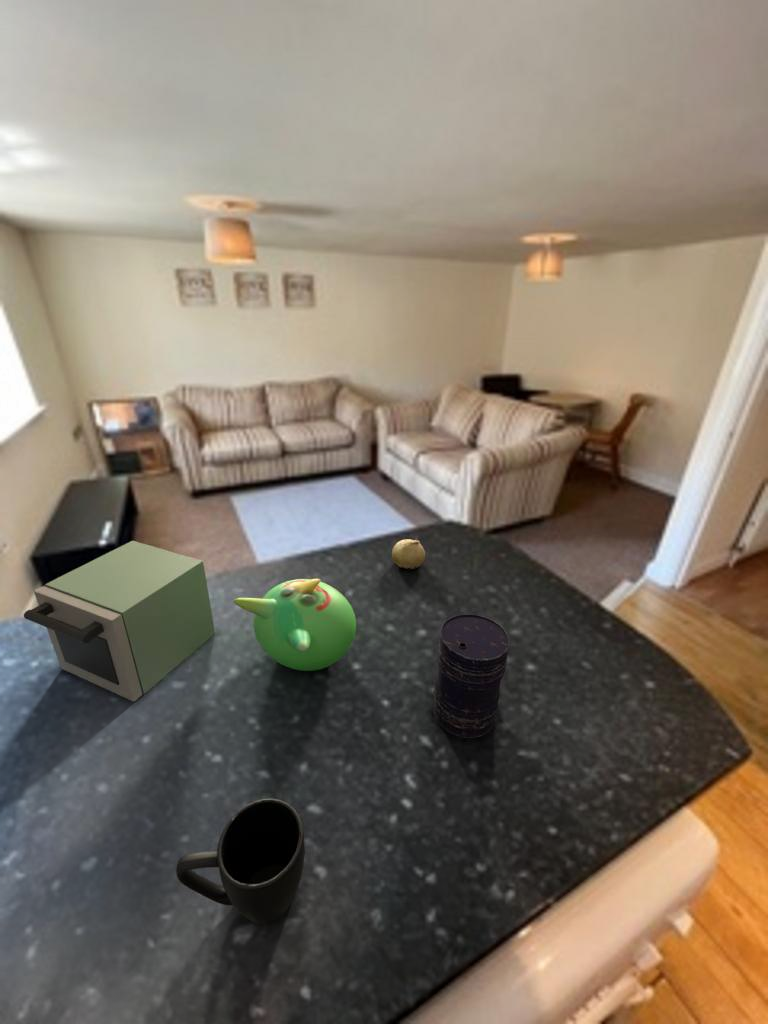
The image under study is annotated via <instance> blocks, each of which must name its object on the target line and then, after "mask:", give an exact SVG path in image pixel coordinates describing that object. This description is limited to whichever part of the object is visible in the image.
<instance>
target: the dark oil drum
mask: <svg viewBox="0 0 768 1024" xmlns="http://www.w3.org/2000/svg"><path fill="white" fill-rule="evenodd" d="M440 628H441V629H440V636H439V642H438V648H437V649H438V650H437V658H436V659H437V665H438V671H437V675H436V677H435V683H434V689H433V705H432V711H433V715H434V717H435V719H436V721H437V723H438V724H439V725H440V726H441V728H443V729H444V730H445V731H446V732H448V733H450V734H452V735H454V736H457V737H461V738H466V739H473V738H479V737H482V736H485V735H486V734H487V733H489V732H490V731H491V730H492V728H493V727H494V725H495V721H496V718H497V713H498V711H499V705H500V697H501V682H502V679H503V677H504V675H505V673H506V667H507V662H508V653H509V648H510V637H509V635H508V633H507V631H506V630H505V629H504V628H503V626H501V625H500V624H499V623H498V622H496V621H494V620H492V619H491V618H489V617H485V616H482V615H477V614H473V613H471V614H470V613H466V614H457V615H455V616H452V617H450V618H448V619H447V620H446V621H445V622H443V624H442V626H441V627H440Z"/></svg>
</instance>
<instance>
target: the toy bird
mask: <svg viewBox="0 0 768 1024" xmlns="http://www.w3.org/2000/svg"><path fill="white" fill-rule="evenodd" d="M233 603H234V604H235V605H236V606H237V607H239V608H241V609H243V610H245V611H248V612H250V613H252V614H254V616H253V631H254V634H255V638H256V640H257V642H258V644H259V645H260V648H262V649H263V651H264V652H265V653H266V654H267V655H268V656H269V657H270V658H271V659H273V661H276V663H279V664H280V665H282V666H284V667H287V668H289V669H293V670H295V671H304V672H313V671H319V670H322V669H326V668H328V667H330V666H333V665H334V664H336V663H337V662H338V661H340V660H341V659H342V658H343V657H344V656H345V655H346V653H347V652H348V651H349V649H350V647H352V645H353V642H354V638H355V636H356V632H357V631H356V630H357V619H356V614H355V611H354V609H353V607H352V605H351V604H350V602H349V601H348V600H347V598H346V597H345V596H344V595H343V594H342V593H341V592H340V591H339V590H337V588H334V587H333V586H331V585H329V584H328V583H325V582H323V581H321V579H320V578H312V579H310V578H298V579H297V578H296V579H291V580H286V581H284V582H282V583H279V584H277V585H276V586H274V587H273V588H271V589H270V590H268V592H266V594H265V595H264V596H263V597H262V598H259V597H257V598H256V597H237V598H234V600H233Z"/></svg>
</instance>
